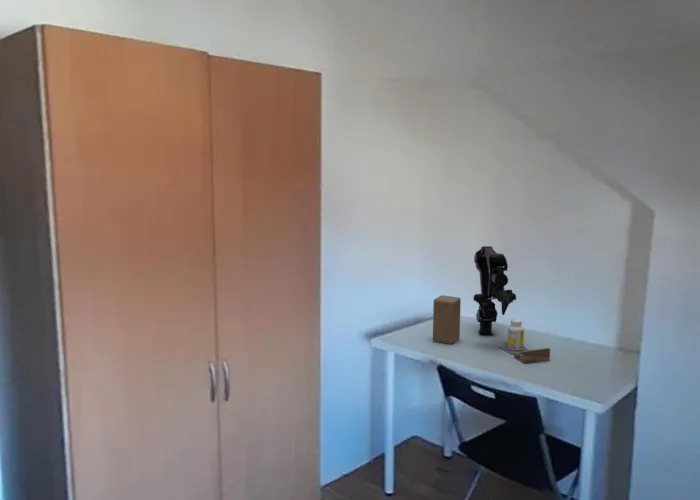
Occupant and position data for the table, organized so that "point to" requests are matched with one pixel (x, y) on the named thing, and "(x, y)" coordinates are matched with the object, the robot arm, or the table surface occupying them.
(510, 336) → the supplement bottle
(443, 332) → the wooden block
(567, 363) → the table surface
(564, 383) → the table surface
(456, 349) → the table surface
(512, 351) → the pad
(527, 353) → the shelf lane
